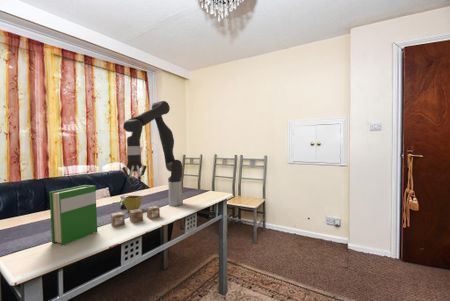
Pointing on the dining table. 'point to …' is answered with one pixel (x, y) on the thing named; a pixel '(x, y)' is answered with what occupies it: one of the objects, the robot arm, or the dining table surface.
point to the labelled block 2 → (153, 212)
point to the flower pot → (132, 202)
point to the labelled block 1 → (117, 219)
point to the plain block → (136, 215)
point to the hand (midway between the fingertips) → (135, 183)
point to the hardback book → (73, 213)
